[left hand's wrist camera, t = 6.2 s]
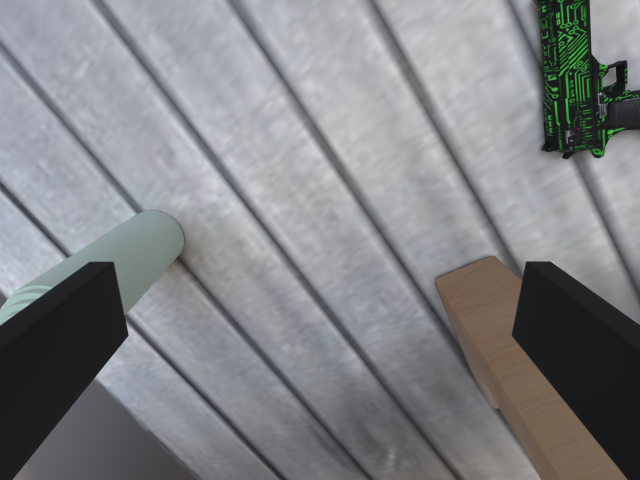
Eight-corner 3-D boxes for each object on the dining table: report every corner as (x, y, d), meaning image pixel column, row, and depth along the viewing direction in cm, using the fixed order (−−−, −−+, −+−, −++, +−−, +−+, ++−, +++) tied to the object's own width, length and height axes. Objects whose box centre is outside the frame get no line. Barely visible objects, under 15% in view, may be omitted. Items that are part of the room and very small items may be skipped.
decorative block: (470, 372, 50) (664, 723, 22) (431, 277, 45) (613, 569, 17) (527, 351, 49) (808, 693, 21) (493, 251, 44) (795, 519, 16)
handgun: (697, 143, 38) (543, 172, 38) (670, 140, 40) (526, 167, 41) (722, -53, 32) (543, -16, 33) (689, -40, 35) (524, -6, 36)
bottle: (155, 272, 45) (-7, 446, 23) (115, 231, 44) (-104, 374, 21) (196, 242, 44) (66, 395, 22) (156, 198, 42) (-31, 314, 20)
